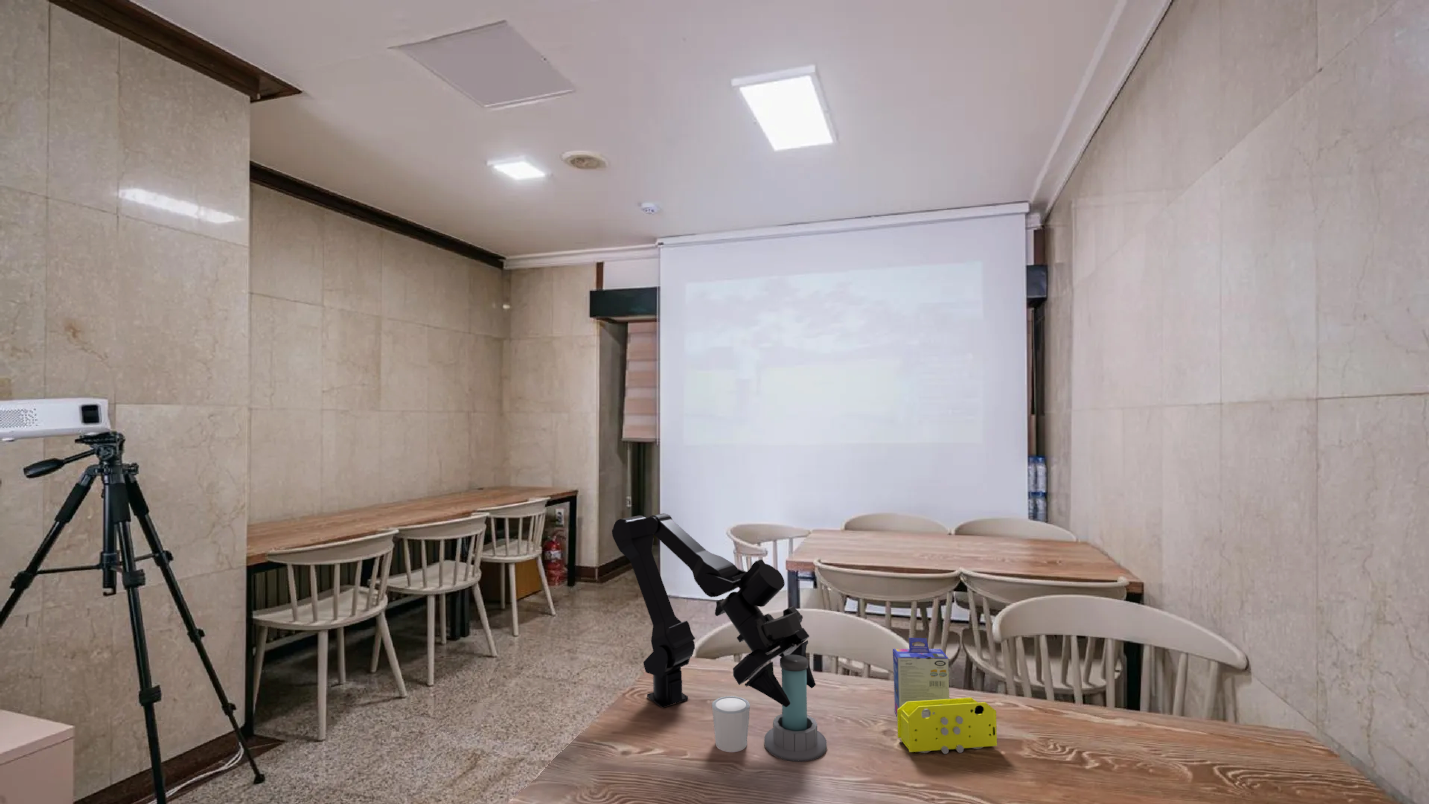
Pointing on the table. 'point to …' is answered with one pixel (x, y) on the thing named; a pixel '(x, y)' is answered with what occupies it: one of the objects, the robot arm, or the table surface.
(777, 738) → the ring mount
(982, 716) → the yellow toy chassis
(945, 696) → the ink cartridge box
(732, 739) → the shot glass
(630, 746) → the table surface
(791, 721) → the teal capped cylinder
